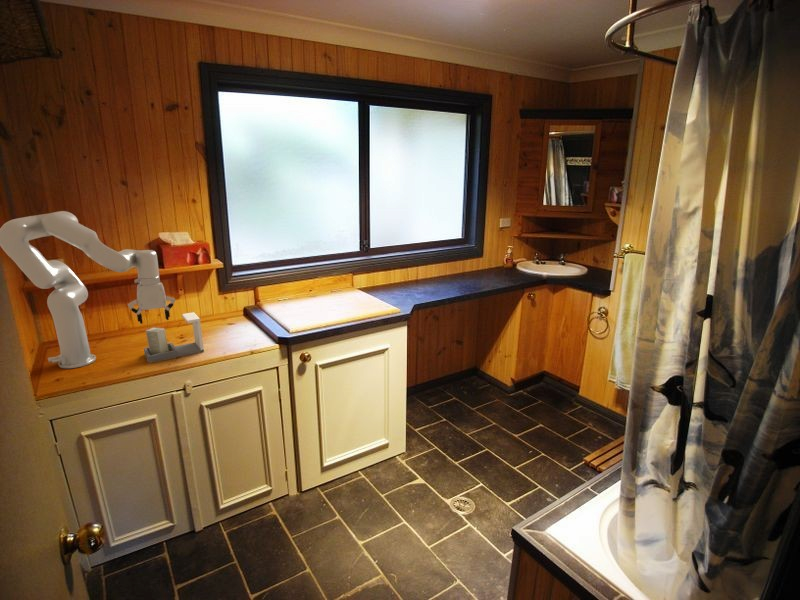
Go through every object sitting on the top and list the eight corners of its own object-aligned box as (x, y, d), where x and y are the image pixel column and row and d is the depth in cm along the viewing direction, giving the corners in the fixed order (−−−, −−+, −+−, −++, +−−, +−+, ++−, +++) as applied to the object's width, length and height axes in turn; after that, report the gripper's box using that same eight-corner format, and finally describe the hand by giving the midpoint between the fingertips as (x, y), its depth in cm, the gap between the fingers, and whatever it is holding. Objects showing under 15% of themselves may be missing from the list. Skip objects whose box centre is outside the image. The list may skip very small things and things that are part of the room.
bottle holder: (148, 363, 185) (142, 328, 181) (144, 354, 194) (139, 321, 190) (204, 351, 197) (199, 318, 193) (198, 343, 206) (194, 312, 202)
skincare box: (169, 355, 194) (165, 328, 190) (161, 359, 189) (157, 331, 186) (157, 353, 195) (153, 326, 192) (149, 357, 191) (145, 330, 188)
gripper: (125, 285, 176) (131, 327, 180) (174, 280, 185) (178, 320, 190) (123, 281, 181) (129, 321, 186) (171, 276, 191) (175, 315, 196)
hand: (154, 320), depth 188 cm, fingers open, 9 cm apart
